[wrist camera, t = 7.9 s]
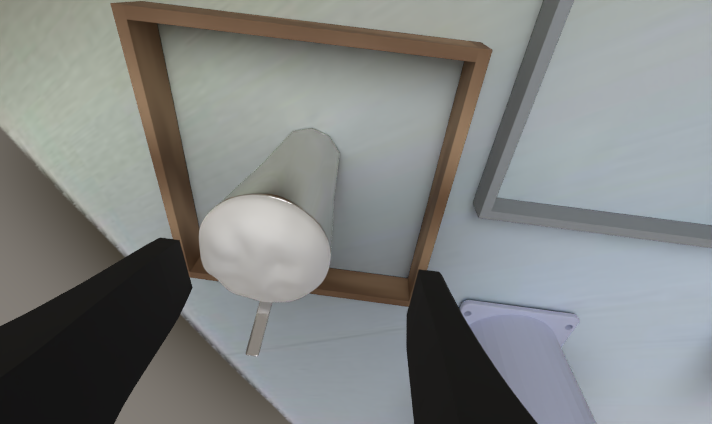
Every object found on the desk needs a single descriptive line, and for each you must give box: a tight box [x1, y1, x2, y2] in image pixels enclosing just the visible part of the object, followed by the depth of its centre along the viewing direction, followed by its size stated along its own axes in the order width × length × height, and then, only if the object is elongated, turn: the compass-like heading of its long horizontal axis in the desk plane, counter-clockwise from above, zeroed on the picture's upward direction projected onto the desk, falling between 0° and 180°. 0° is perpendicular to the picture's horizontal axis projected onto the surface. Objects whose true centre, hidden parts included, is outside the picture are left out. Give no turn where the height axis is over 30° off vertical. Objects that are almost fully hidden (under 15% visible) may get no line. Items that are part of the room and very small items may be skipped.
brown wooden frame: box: [110, 1, 492, 307], centre depth 18 cm, size 15×15×2 cm
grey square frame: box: [473, 0, 712, 248], centre depth 14 cm, size 15×15×2 cm
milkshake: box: [199, 128, 340, 356], centre depth 14 cm, size 4×5×10 cm
